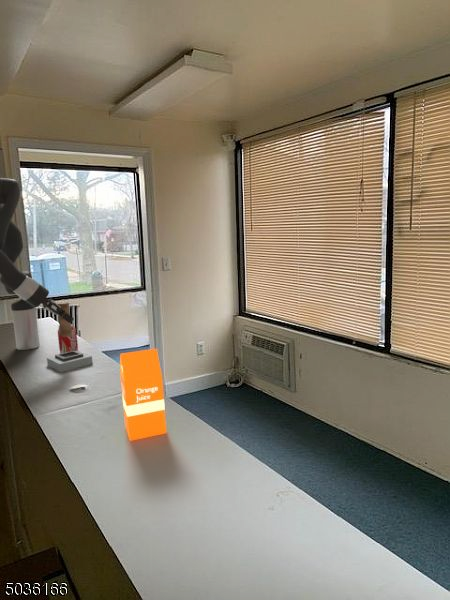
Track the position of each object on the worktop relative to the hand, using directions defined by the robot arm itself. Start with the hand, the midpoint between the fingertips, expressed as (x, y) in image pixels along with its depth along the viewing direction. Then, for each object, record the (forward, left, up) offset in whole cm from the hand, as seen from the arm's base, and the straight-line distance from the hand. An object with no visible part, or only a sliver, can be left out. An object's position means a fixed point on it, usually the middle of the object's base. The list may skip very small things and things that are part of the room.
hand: (70, 319), depth 158 cm
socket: (0, -2, -17) cm, 17 cm away
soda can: (-14, +4, -17) cm, 23 cm away
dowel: (0, -2, -6) cm, 6 cm away
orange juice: (+67, -13, -17) cm, 70 cm away
